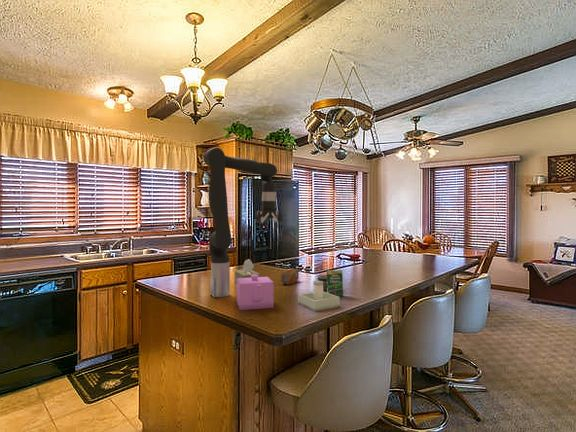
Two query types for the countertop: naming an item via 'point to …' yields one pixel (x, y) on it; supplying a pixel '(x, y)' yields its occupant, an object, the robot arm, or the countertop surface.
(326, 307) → the bin
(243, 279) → the pink storage box
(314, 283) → the salt shaker
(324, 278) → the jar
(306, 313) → the countertop surface
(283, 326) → the countertop surface
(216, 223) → the robot arm
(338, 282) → the coffee box
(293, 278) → the tin
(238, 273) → the tissue box
